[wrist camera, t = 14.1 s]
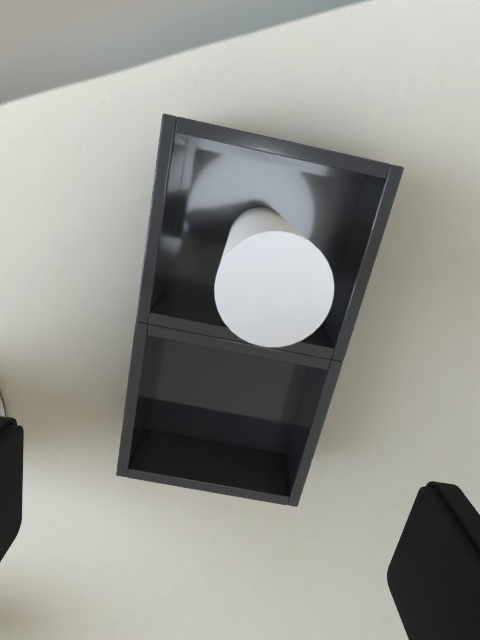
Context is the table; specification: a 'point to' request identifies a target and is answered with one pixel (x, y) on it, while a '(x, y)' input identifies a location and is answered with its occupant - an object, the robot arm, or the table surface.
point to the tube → (272, 281)
